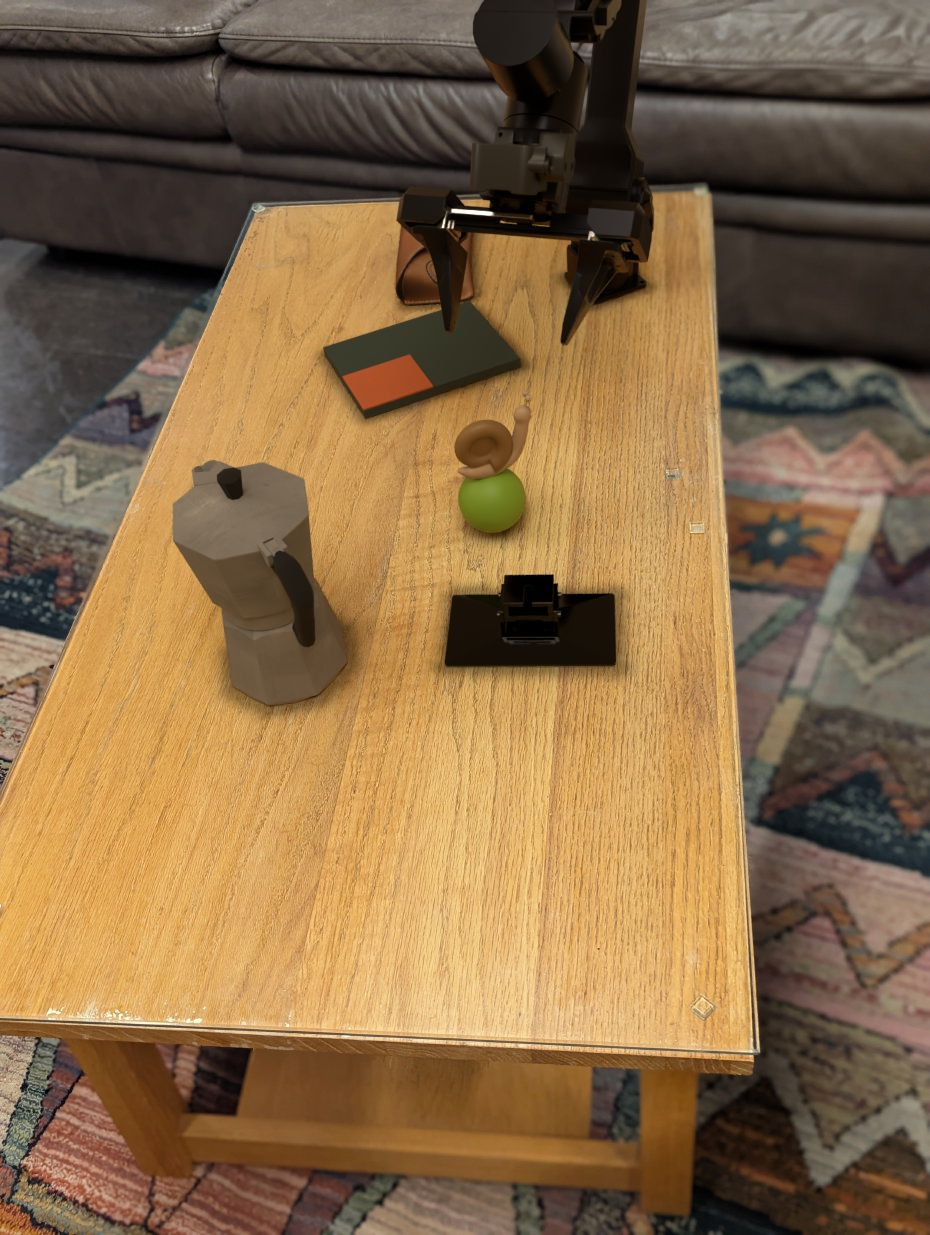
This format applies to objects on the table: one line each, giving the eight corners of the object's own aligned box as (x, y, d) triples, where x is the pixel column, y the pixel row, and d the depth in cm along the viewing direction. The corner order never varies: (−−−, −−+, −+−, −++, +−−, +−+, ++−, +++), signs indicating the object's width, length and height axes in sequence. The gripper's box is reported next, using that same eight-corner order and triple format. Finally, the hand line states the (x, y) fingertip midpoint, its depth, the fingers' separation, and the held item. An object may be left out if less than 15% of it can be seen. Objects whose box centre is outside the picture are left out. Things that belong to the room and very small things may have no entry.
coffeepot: (196, 635, 83) (120, 451, 70) (304, 581, 86) (250, 395, 73) (285, 768, 74) (217, 585, 61) (402, 702, 77) (362, 514, 64)
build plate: (444, 668, 79) (436, 625, 75) (453, 596, 84) (446, 553, 80) (616, 667, 77) (616, 623, 74) (614, 593, 82) (614, 549, 79)
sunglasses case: (478, 295, 112) (439, 247, 108) (424, 330, 115) (385, 284, 111) (477, 212, 124) (442, 166, 120) (429, 246, 127) (393, 202, 123)
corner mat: (470, 309, 111) (469, 299, 110) (520, 366, 103) (520, 356, 102) (324, 355, 108) (322, 345, 107) (365, 419, 100) (363, 408, 99)
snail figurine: (547, 533, 87) (542, 412, 78) (472, 553, 86) (457, 433, 78) (526, 492, 91) (519, 372, 82) (453, 511, 90) (438, 392, 81)
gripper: (387, 76, 76) (352, 298, 77) (649, 86, 71) (608, 324, 72) (437, 140, 87) (405, 335, 88) (668, 153, 81) (631, 360, 82)
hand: (505, 338), depth 82 cm, fingers open, 9 cm apart
